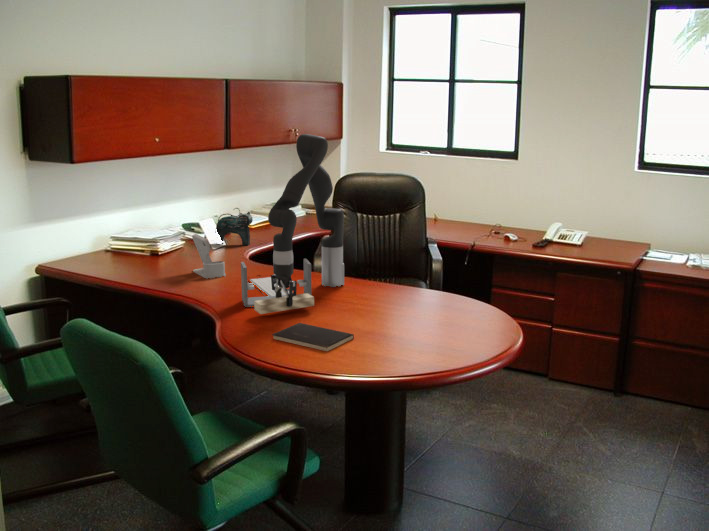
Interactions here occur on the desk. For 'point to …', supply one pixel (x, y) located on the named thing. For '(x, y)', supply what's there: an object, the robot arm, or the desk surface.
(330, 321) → the desk surface
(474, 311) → the desk surface
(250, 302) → the shelf frame
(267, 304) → the shelf board
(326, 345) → the hardcover book
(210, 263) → the phone holder
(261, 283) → the baseboard
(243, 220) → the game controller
